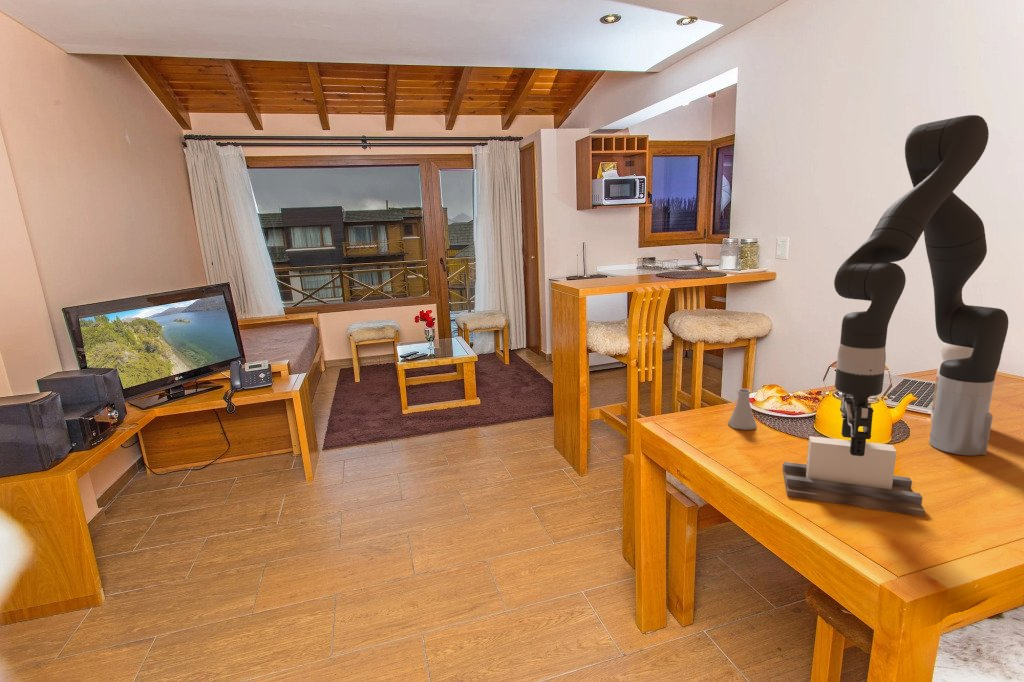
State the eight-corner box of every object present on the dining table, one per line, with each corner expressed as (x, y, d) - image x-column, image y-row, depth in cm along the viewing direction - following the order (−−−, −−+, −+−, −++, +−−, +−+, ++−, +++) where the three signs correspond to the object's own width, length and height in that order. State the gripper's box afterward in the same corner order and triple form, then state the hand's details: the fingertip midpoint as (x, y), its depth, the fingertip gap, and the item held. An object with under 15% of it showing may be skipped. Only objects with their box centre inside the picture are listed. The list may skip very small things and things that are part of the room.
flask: (760, 431, 129) (762, 395, 127) (730, 430, 130) (732, 394, 128) (753, 420, 136) (755, 386, 134) (724, 420, 137) (726, 385, 135)
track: (904, 484, 100) (906, 472, 100) (924, 516, 90) (926, 503, 89) (782, 468, 109) (783, 457, 109) (787, 495, 99) (788, 483, 98)
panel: (886, 486, 98) (892, 444, 96) (891, 494, 95) (896, 451, 93) (805, 475, 104) (809, 436, 102) (807, 482, 101) (811, 442, 99)
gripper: (894, 380, 86) (884, 464, 90) (874, 358, 99) (866, 433, 102) (843, 377, 89) (836, 459, 93) (830, 356, 102) (824, 429, 105)
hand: (852, 445), depth 98 cm, fingers open, 8 cm apart
